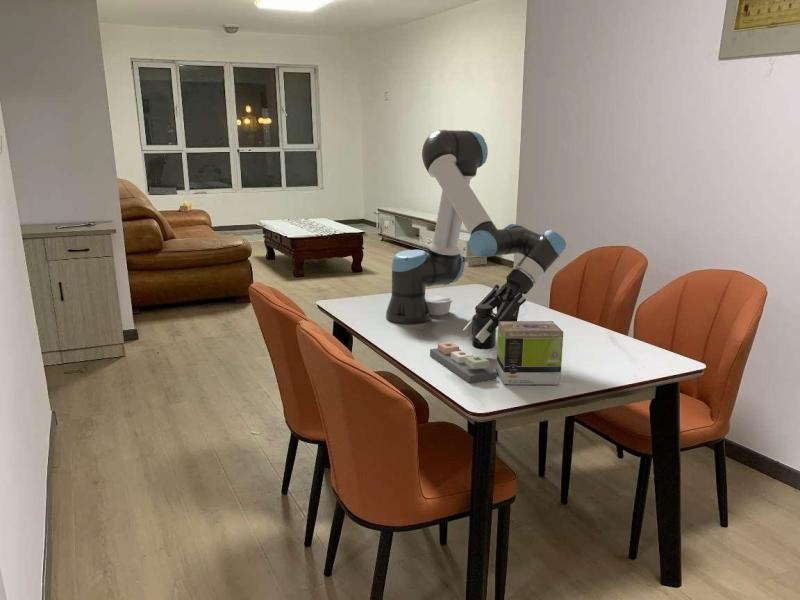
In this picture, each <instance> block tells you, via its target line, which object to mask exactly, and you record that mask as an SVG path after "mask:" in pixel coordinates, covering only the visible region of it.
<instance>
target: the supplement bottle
mask: <svg viewBox="0 0 800 600" xmlns="http://www.w3.org/2000/svg"><path fill="white" fill-rule="evenodd" d="M478 304H479V303H478ZM478 304H477V305H475V307H476V310H475V311H474V312H475V314H473V316H472V318H471V319H472V334H471V345H472V347H473V348H475V349H476V350H481V351H483V350H484V351H485V350H492V349H494V348H495V347H496V346H497V345H496V344H497V340H496V339H497V328H496V329H495V330H494V331H493V332H492V333H491V334H490V335H489V336H488V337H487V339H486V340H485V341H484V342H483V343H481V342H480V341H479V340H478V339H477V338H476V336H477V334H478V333H479V332H480V331H481V330H482V329H483V327H484V326H485V325H486V324H487V323H488V322H489V321H490V319H491V320H493V319H492V317H495V315H493V314H492V313H494V309H493V306H492V305H488V304H479V305H478Z"/></svg>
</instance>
